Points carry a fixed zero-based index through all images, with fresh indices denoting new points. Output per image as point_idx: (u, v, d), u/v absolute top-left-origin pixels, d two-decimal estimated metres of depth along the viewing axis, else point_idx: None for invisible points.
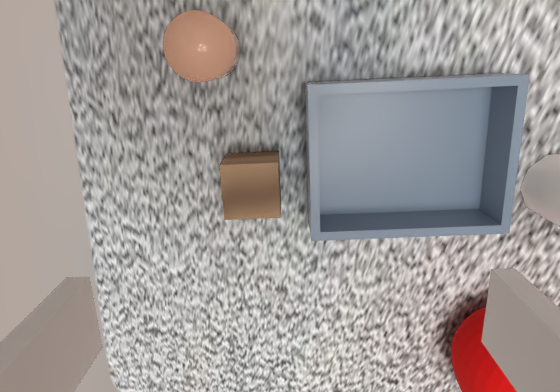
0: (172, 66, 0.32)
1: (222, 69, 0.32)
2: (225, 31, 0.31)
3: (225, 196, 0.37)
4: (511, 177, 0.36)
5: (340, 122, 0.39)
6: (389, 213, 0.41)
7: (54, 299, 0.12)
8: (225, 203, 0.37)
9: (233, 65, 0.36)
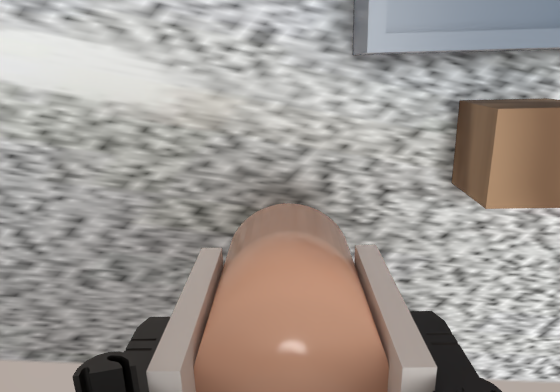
0: None
1: (359, 323, 0.10)
2: (248, 309, 0.10)
3: (543, 202, 0.21)
4: None
5: None
6: None
7: (203, 265, 0.14)
8: (556, 203, 0.21)
9: (329, 235, 0.15)
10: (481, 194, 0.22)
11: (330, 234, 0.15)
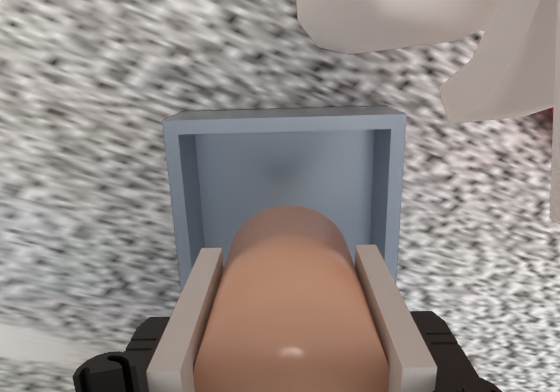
0: None
1: (359, 327, 0.10)
2: (248, 313, 0.10)
3: None
4: (313, 124, 0.24)
5: None
6: (371, 244, 0.30)
7: (203, 265, 0.14)
8: None
9: (330, 238, 0.15)
10: None
11: (330, 236, 0.15)
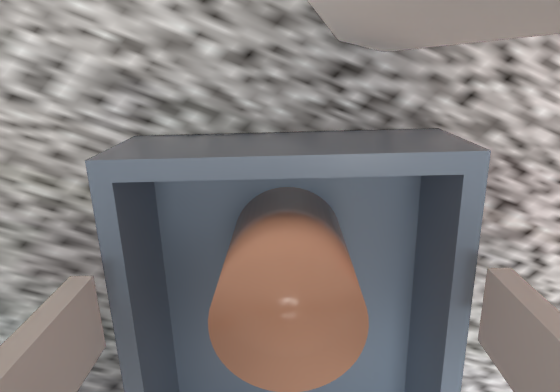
0: (329, 379, 0.14)
1: (343, 275, 0.13)
2: (253, 264, 0.12)
3: None
4: (334, 166, 0.14)
5: None
6: (411, 328, 0.21)
7: (58, 298, 0.12)
8: None
9: (322, 212, 0.17)
10: None
11: (323, 211, 0.17)
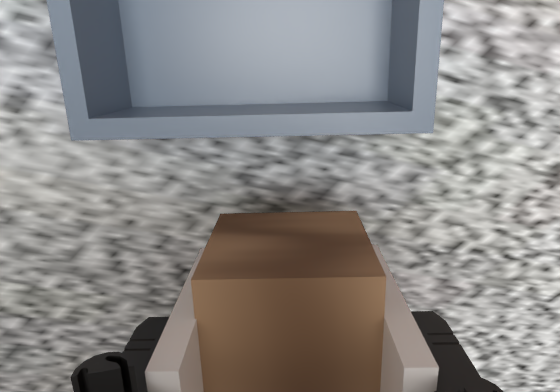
0: None
1: None
2: None
3: None
4: None
5: (189, 52, 0.19)
6: None
7: None
8: None
9: None
10: None
11: None
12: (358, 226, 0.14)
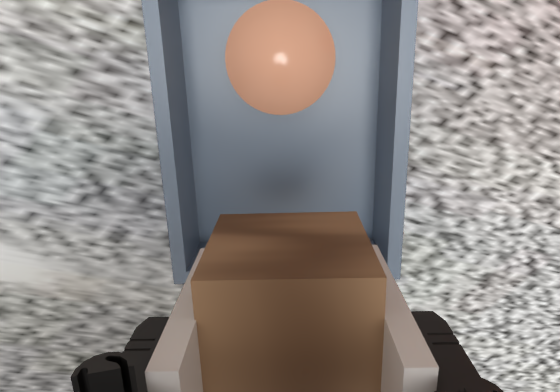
0: (309, 103, 0.20)
1: (317, 16, 0.19)
2: (256, 7, 0.18)
3: None
4: None
5: (240, 208, 0.29)
6: (377, 136, 0.27)
7: None
8: None
9: None
10: None
11: None
12: (358, 227, 0.14)
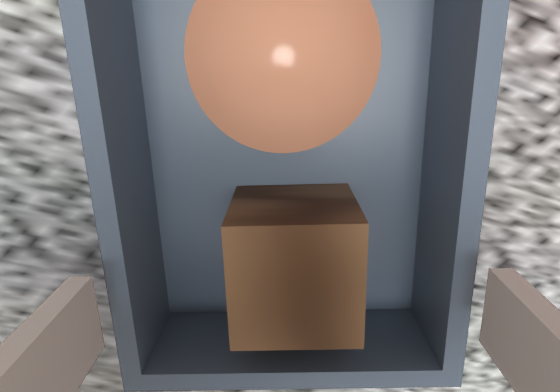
0: (332, 133, 0.11)
1: None
2: None
3: (305, 343, 0.16)
4: None
5: None
6: (424, 170, 0.18)
7: (57, 299, 0.12)
8: (322, 344, 0.16)
9: None
10: None
11: None
12: (349, 193, 0.17)
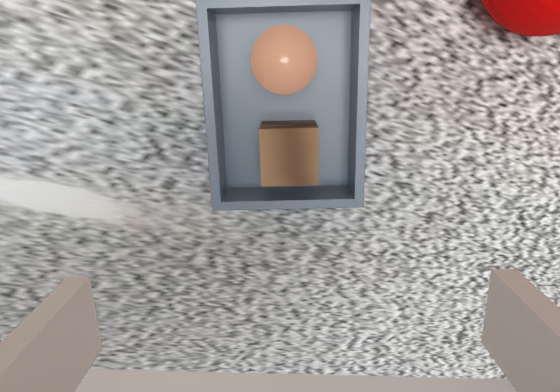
0: (301, 87, 0.32)
1: (306, 35, 0.31)
2: (270, 29, 0.31)
3: (293, 182, 0.37)
4: None
5: (255, 164, 0.41)
6: (349, 113, 0.39)
7: (54, 300, 0.12)
8: (301, 183, 0.37)
9: None
10: None
11: None
12: (314, 122, 0.38)
